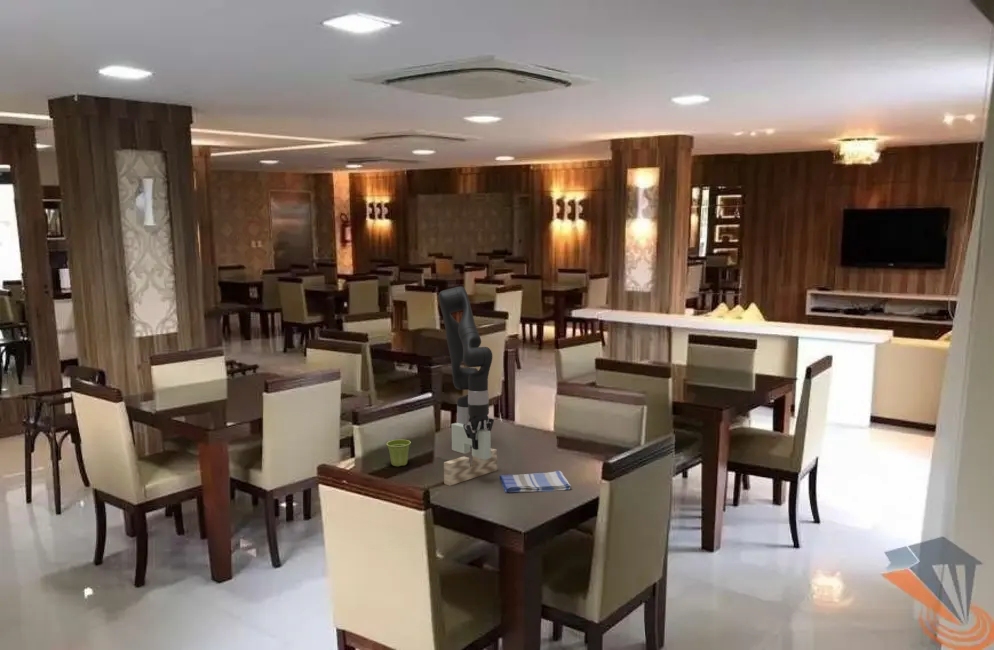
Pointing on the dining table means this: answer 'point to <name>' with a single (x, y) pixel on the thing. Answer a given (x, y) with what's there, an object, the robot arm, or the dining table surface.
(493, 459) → the maple slotted board
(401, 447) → the plant pot
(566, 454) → the dining table surface
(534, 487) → the dish towel
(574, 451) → the dining table surface
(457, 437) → the sage slotted board
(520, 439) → the dining table surface
